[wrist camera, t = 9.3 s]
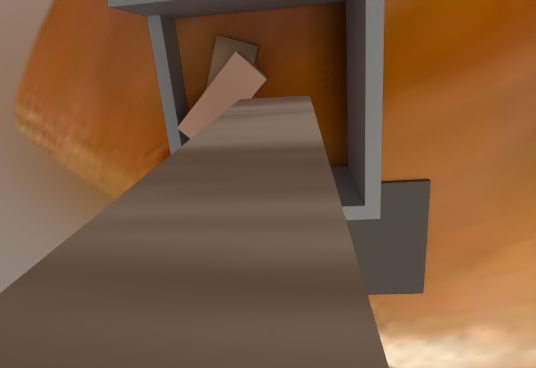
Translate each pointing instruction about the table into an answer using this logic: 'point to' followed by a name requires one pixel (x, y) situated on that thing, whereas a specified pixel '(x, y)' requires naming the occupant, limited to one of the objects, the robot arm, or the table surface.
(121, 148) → the table surface
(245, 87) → the upper offcut
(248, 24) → the table surface
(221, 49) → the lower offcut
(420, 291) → the mat
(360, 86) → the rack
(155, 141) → the table surface
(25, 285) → the tall board
